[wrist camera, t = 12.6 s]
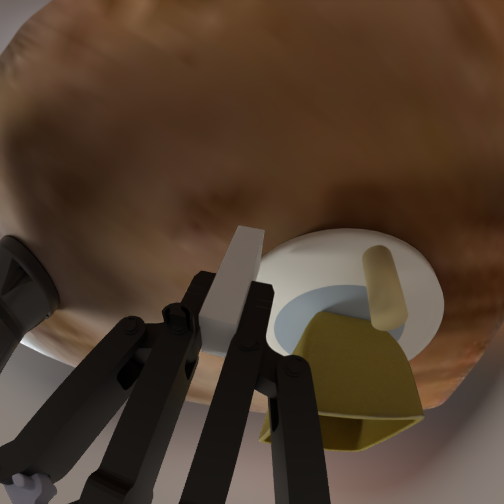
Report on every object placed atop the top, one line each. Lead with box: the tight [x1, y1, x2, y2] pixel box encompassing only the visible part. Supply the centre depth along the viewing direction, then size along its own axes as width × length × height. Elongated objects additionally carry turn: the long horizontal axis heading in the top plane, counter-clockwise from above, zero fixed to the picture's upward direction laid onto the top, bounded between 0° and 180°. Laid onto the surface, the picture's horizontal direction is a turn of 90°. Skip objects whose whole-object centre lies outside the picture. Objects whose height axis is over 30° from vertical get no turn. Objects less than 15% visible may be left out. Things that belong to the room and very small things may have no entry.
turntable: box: [256, 228, 444, 361], centre depth 20 cm, size 18×18×7 cm
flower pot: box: [259, 311, 424, 452], centre depth 18 cm, size 9×9×9 cm
